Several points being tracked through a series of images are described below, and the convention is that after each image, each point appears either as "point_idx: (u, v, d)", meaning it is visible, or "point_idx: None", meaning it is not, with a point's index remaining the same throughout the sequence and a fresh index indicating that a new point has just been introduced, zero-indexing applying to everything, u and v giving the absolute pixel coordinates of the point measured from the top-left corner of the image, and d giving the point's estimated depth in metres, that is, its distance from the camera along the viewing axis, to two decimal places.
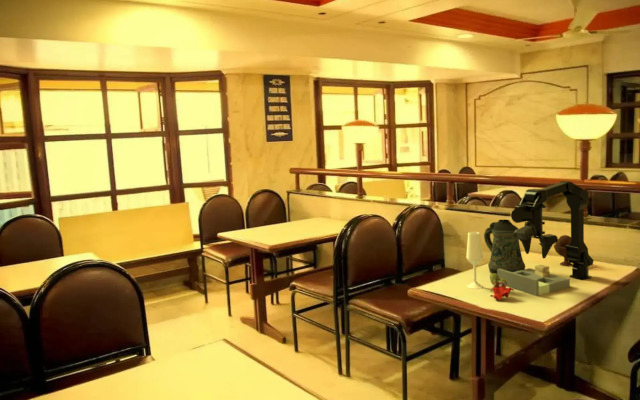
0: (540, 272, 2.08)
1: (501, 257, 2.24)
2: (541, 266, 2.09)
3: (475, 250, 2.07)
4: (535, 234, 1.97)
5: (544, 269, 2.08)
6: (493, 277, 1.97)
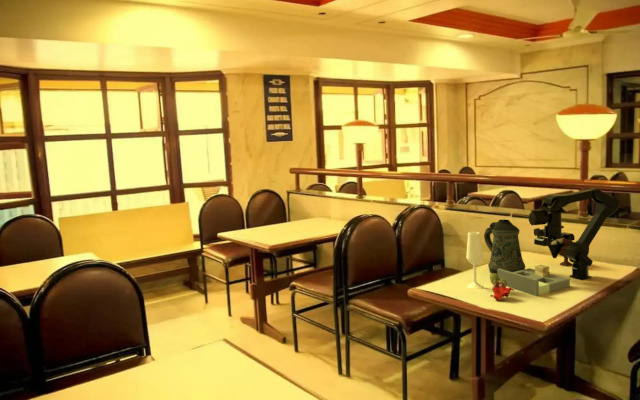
0: (540, 272, 2.08)
1: (501, 257, 2.24)
2: (541, 266, 2.09)
3: (475, 250, 2.07)
4: (544, 235, 2.12)
5: (544, 269, 2.08)
6: (493, 277, 1.97)
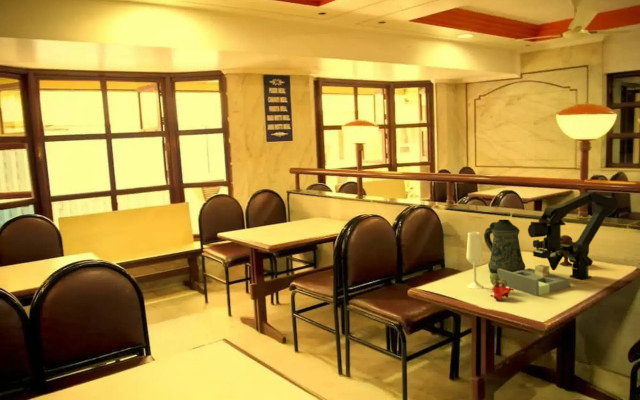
0: (540, 272, 2.08)
1: (501, 257, 2.24)
2: (541, 266, 2.09)
3: (475, 250, 2.07)
4: (543, 247, 2.13)
5: (544, 269, 2.08)
6: (493, 277, 1.97)
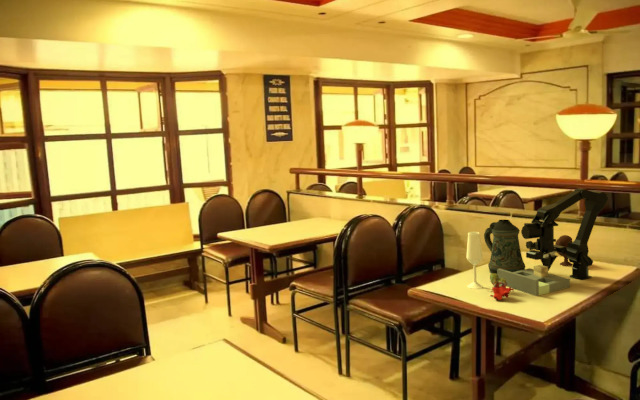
0: (539, 272, 2.08)
1: (501, 257, 2.24)
2: (540, 266, 2.09)
3: (475, 250, 2.07)
4: (536, 248, 2.11)
5: (543, 269, 2.07)
6: (493, 277, 1.97)
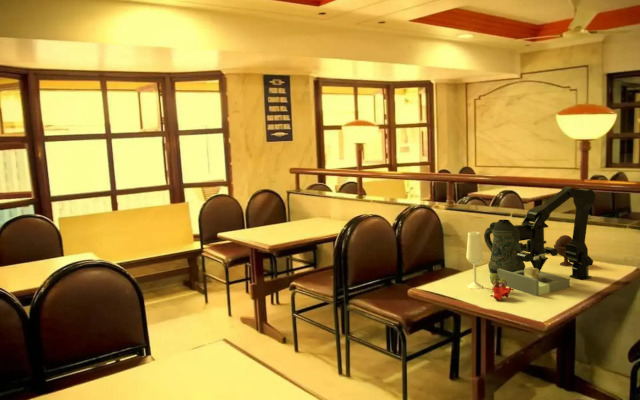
0: (530, 274, 2.05)
1: (501, 257, 2.24)
2: (530, 269, 2.07)
3: (475, 250, 2.07)
4: (527, 250, 2.09)
5: (533, 272, 2.05)
6: (493, 277, 1.97)
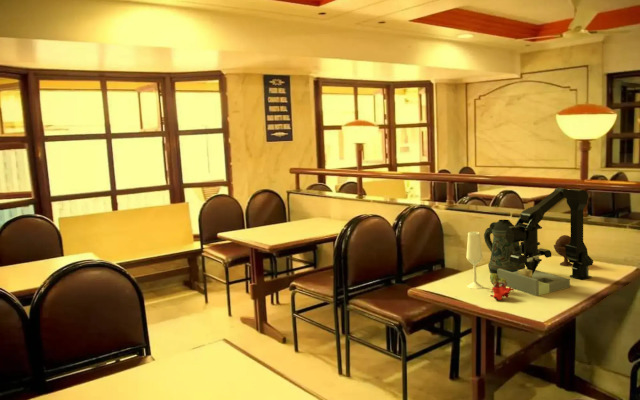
0: None
1: (501, 257, 2.24)
2: (524, 270, 2.05)
3: (475, 250, 2.07)
4: (520, 252, 2.07)
5: (527, 273, 2.03)
6: (493, 277, 1.97)
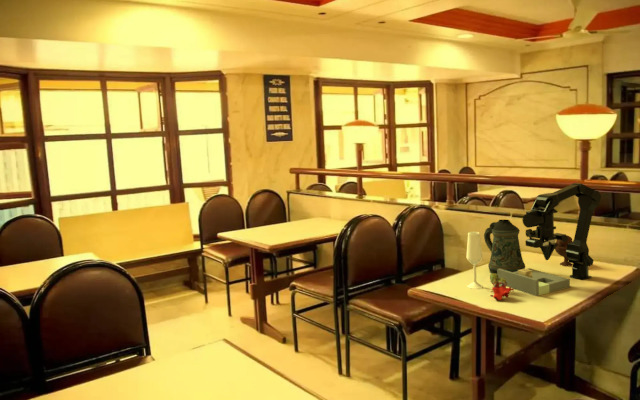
0: None
1: (501, 257, 2.24)
2: (524, 270, 2.05)
3: (475, 250, 2.07)
4: (536, 236, 2.06)
5: (527, 273, 2.03)
6: (493, 277, 1.97)
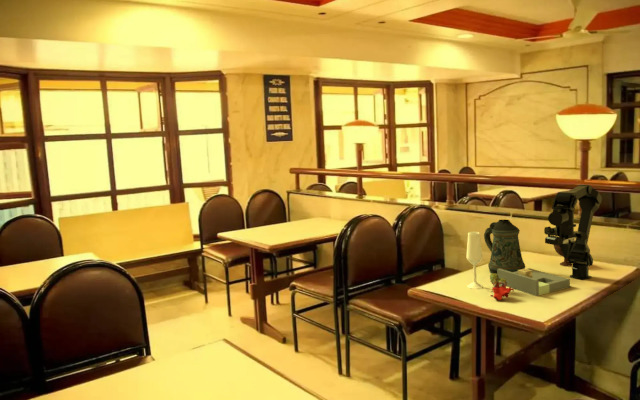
0: None
1: (501, 257, 2.24)
2: (524, 270, 2.05)
3: (475, 250, 2.07)
4: (556, 234, 2.04)
5: (527, 273, 2.03)
6: (493, 277, 1.97)
